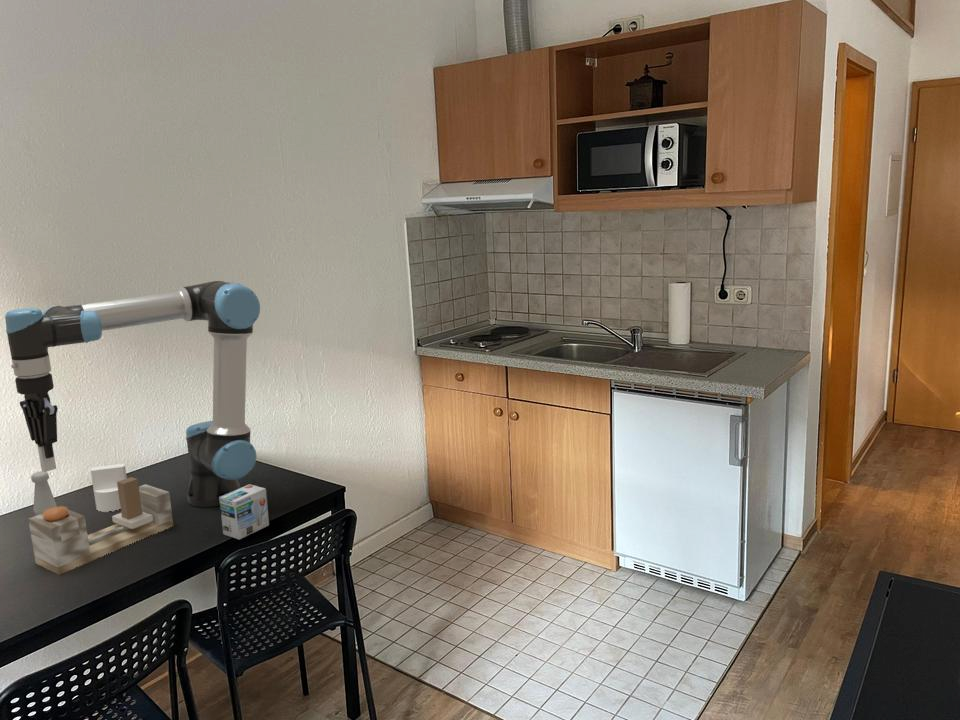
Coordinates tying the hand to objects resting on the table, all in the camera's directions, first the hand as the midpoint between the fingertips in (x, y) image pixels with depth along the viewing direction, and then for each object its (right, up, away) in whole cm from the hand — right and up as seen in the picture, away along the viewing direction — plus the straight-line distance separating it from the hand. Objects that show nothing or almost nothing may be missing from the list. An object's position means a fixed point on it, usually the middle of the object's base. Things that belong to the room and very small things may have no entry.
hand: (49, 469), depth 182 cm
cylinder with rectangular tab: (-4, -16, +39) cm, 43 cm away
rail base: (+7, -22, +14) cm, 27 cm away
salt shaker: (-20, -18, +34) cm, 43 cm away
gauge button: (0, -16, +3) cm, 16 cm away
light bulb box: (+41, -19, +20) cm, 50 cm away
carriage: (+11, -17, +20) cm, 28 cm away
